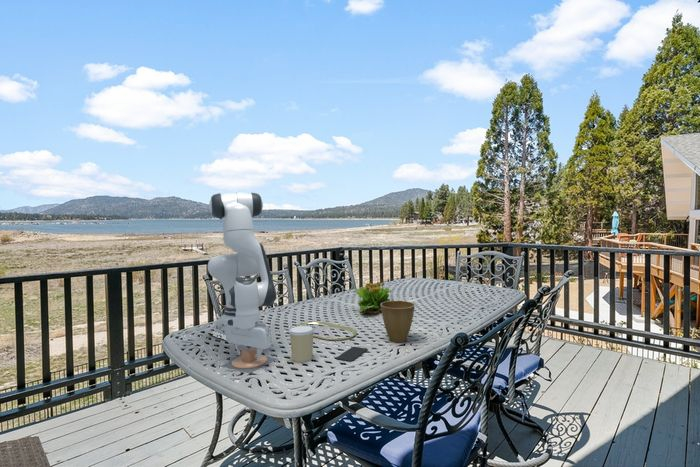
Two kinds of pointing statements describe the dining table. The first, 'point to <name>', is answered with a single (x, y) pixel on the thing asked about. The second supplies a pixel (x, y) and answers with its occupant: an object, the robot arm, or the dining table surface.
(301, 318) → the dining table surface
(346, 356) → the phone
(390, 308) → the plant pot
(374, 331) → the dining table surface
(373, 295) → the potted flower
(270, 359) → the mat
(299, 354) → the coffee cup
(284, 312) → the dining table surface
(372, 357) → the dining table surface
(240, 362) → the lid
